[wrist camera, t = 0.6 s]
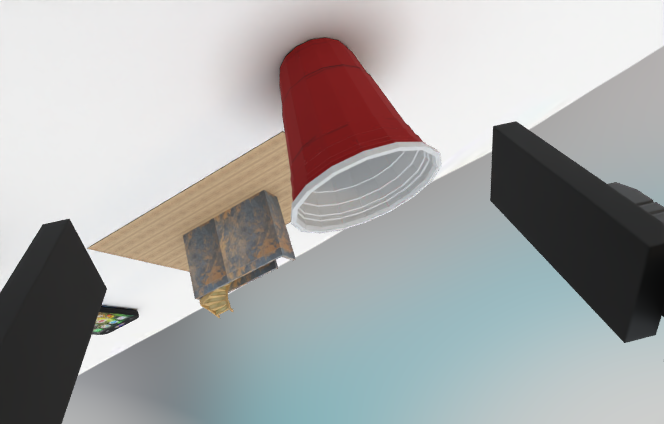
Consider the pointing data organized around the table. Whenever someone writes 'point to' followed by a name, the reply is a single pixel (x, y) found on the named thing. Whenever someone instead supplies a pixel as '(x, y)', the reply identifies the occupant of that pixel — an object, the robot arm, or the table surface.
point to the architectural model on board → (219, 226)
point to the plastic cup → (345, 141)
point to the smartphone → (113, 319)
